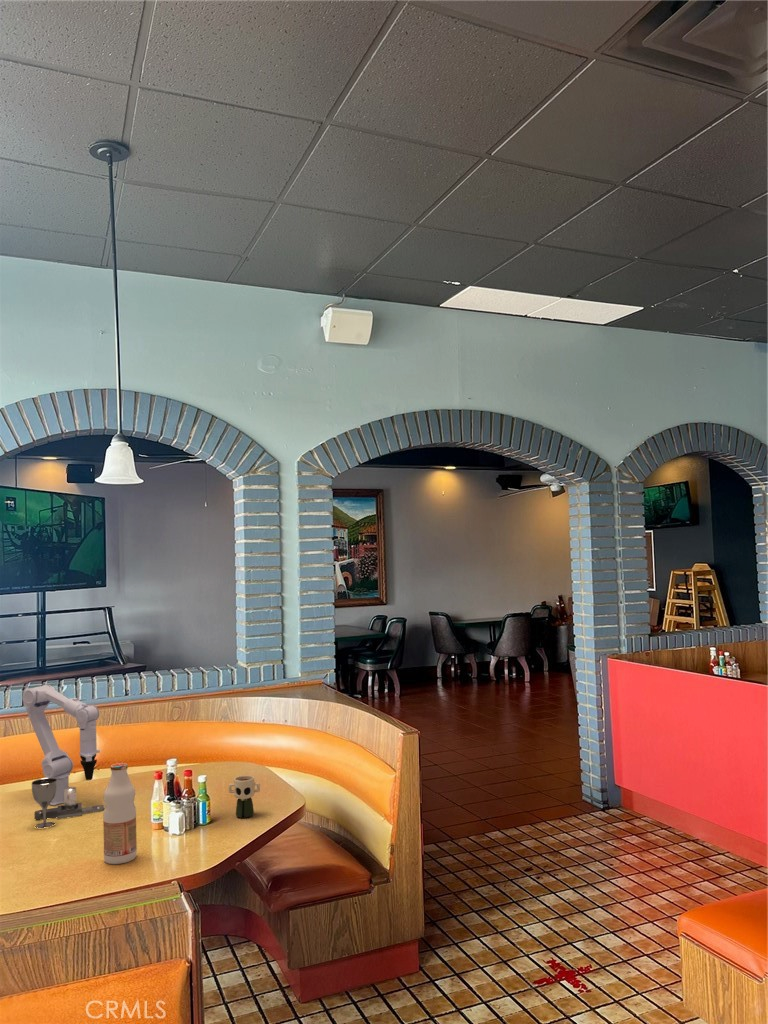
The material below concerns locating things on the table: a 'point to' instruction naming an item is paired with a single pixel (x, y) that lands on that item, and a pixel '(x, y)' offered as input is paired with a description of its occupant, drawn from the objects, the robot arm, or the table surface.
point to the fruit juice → (119, 817)
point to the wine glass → (44, 796)
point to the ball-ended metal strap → (67, 811)
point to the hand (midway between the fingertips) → (88, 776)
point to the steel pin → (70, 798)
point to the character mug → (244, 794)
